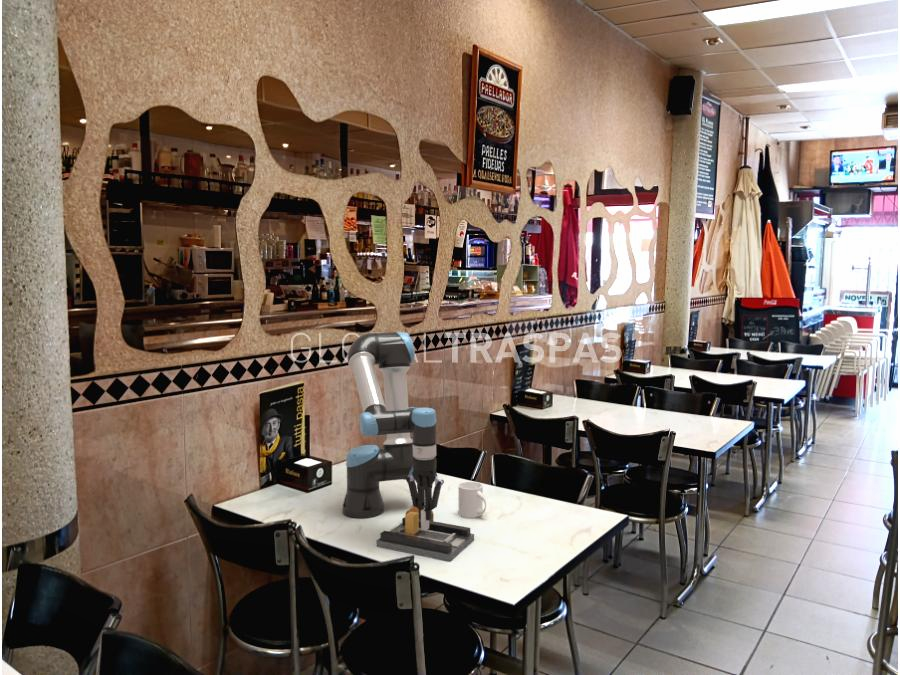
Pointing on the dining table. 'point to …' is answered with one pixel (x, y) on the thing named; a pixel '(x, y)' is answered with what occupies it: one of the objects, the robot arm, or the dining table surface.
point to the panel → (427, 552)
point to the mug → (471, 499)
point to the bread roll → (415, 509)
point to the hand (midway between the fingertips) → (425, 529)
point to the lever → (412, 523)
